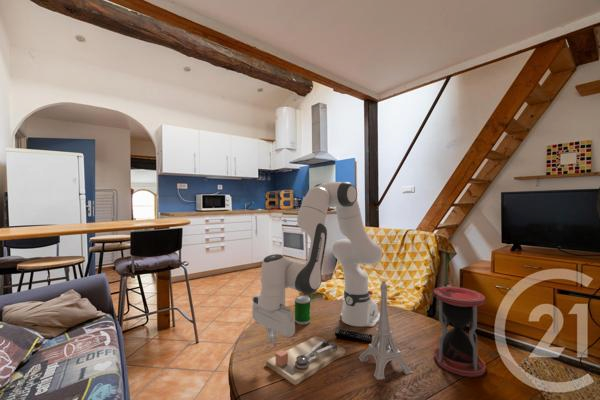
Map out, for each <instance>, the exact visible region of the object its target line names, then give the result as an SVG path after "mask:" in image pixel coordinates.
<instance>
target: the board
mask: <svg viewBox="0 0 600 400" xmlns="http://www.w3.org/2000/svg"><path fill="white" fill-rule="evenodd" d="M322 339H323V338H321V337H319V336H317V335H315V336H313V337H311V338H308V339H307V340H305V341H303V342H301V343H299V344H297V345H295V346H293V347H290V348H289V349H287V350H284V351H285V352H287V353H288V363H287V364H286V365H284V366H282V367H281V366H279V365H278V364H276V355H275V356H273V357H271V358H269V359H267V360H266V361H265V365H266V367H268V368H269V369H271V370H272V371H274V372H275V373H276V374H278V375H279V376H281V377H282V378H284V379H285V380H287V381H288V382H289V383H291V384H293V385H294V386H296V385H298V384H300V383H301V382H303V381H304V380H306V379H308V378H309V377H311V376H313V375H314V374H316V373H317V372H319V371H320V370H322V369H324V368H325V367H326V366H328V365H330V364H331V363H333V362H335V361H336V360H338V359H339V358H341V357H342V356H344V355H345V354H346V349H344V348H343V347H342V346H339V345H337V351H335V352H333V353H331V354H329V355H326V356H324V357H322V358H320V359H317V360H315V361H313V362H311V363H309V368H307V369H305V370H299V369H297V368H296V367H295V362H296V358H297V356H300V355H305V354H307V353H308V352H309V351H310V350H311V349H312V348H313V347H314V346H315V345H316V344H318V343H319V342H320V341H321V340H322ZM329 343H331V342H330V341H329ZM323 348H324V347H323ZM311 357H313V355H311V356H310V357H309V358H311ZM309 358H308V359H309Z"/></svg>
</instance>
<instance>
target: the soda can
mask: <svg viewBox="0 0 600 400" xmlns="http://www.w3.org/2000/svg"><path fill="white" fill-rule="evenodd" d="M294 321H295V323H296V324H297V325H301V326H304V325H305V326H306V325H308V324H309V323H310V322H311V298H310V297H309V295H305V294H301V295H297V296H296V297H295V298H294Z"/></svg>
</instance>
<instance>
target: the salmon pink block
mask: <svg viewBox="0 0 600 400" xmlns="http://www.w3.org/2000/svg"><path fill="white" fill-rule="evenodd" d="M285 351H286V350H284V349H280V350H279V351H277V352H275V356H276V364H278V365H279V366H281V367H282V366H284V365H286V364H287V363H288V353H287V352H285Z"/></svg>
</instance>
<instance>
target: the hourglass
mask: <svg viewBox="0 0 600 400" xmlns="http://www.w3.org/2000/svg"><path fill="white" fill-rule="evenodd" d="M432 291H433V292H432V294H433V296H434V298H436V299H437V300H438V320H439V323H440V324H441V325H442V329H441V331H442V333H441V334H440V336H439V339H438V343H439V344H438V348H436V349H434V350H433V351H434V352H433V359H434V362H435V363H436V364H437V366H439V367H441V368H442V369H444V370H445V371H447V372H450V373H452V374H456V375H459V376H462V377H469V378H470V377H472V378H473V377H480V376H482V375H484V373H486V362H484V360H483V358H481V357H480V356H478V335H477V333H476V332H475V331H476V330H477V328H478V306H483V305H484V304H485V303H486V297H485V296H484V295H483V294H482V293H480V292H478V291H476V290H472V289H469V288H464V287H458V286H457V287H456V286H438V287H435V288H433V290H432ZM443 317H444V319H443ZM449 324H451V325H452V326H453V328H452V329H451V330H449V331H448V327H449V326H450V325H449ZM466 326H468V328H469V331H468V333H466V331H465V330H463V329H464V328H465V327H466Z"/></svg>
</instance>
